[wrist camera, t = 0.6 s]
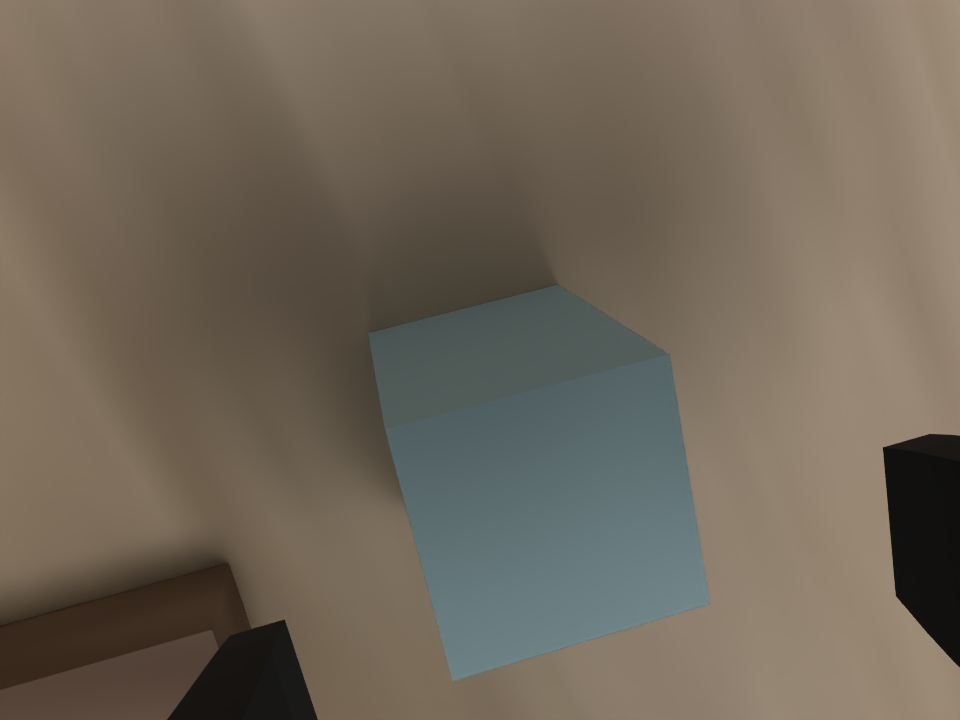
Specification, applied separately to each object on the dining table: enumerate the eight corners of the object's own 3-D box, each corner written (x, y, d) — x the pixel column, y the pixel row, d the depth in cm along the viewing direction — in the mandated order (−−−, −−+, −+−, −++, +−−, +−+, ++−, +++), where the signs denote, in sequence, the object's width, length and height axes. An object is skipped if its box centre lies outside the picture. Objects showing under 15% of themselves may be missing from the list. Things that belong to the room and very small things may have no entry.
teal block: (592, 460, 18) (709, 603, 13) (414, 509, 18) (452, 681, 12) (557, 284, 17) (669, 354, 11) (367, 333, 17) (384, 430, 11)
